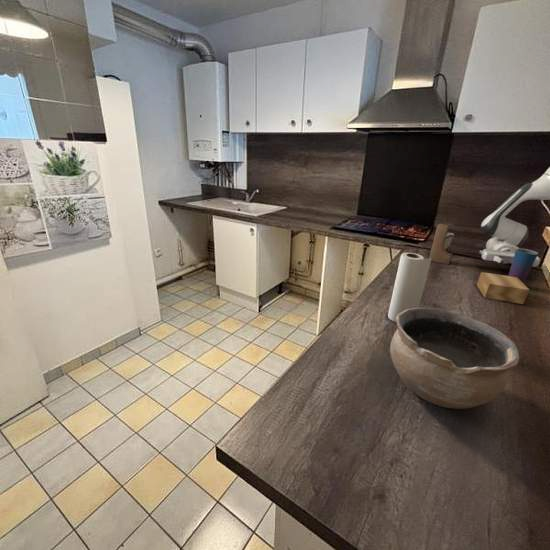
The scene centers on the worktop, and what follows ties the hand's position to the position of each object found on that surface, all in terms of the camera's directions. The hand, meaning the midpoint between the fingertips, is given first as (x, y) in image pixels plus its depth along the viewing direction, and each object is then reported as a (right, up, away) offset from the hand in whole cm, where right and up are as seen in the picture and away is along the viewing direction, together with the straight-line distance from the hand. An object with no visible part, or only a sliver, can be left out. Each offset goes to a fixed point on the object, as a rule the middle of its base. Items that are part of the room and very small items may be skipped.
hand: (515, 263), depth 121 cm
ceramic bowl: (-64, -30, -55) cm, 90 cm away
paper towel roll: (-61, -19, -29) cm, 70 cm away
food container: (-11, +8, +37) cm, 39 cm away
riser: (-15, -12, -10) cm, 22 cm away
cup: (-2, -10, -2) cm, 10 cm away
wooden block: (-19, +2, +22) cm, 29 cm away
